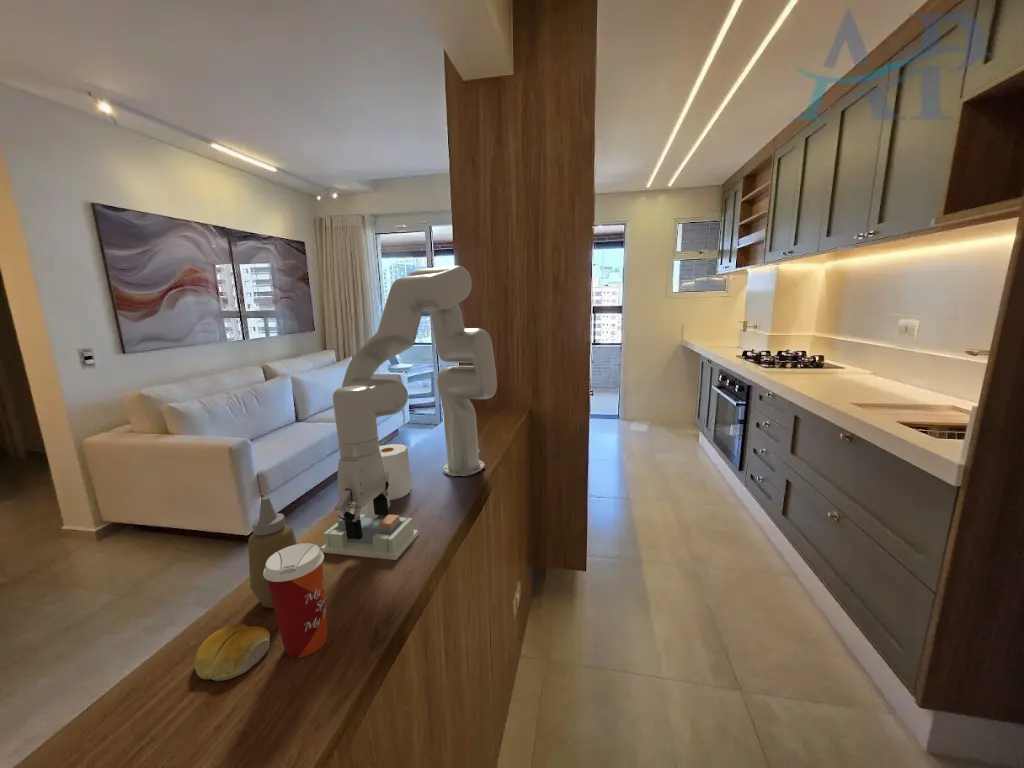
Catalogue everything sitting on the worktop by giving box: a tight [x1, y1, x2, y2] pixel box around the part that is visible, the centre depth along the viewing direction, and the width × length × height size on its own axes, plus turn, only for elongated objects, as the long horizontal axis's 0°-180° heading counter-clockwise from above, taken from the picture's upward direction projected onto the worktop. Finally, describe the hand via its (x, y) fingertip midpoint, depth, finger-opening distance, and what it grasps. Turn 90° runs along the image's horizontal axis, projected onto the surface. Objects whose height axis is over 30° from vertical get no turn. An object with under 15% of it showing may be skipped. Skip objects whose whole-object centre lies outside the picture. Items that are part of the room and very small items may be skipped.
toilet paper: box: [379, 443, 412, 501], centre depth 111 cm, size 10×10×12 cm
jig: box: [320, 514, 419, 561], centre depth 87 cm, size 10×17×4 cm, turn 76°
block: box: [350, 489, 391, 519], centre depth 100 cm, size 9×4×6 cm, turn 165°
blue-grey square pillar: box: [337, 510, 401, 544], centre depth 87 cm, size 4×12×5 cm, turn 76°
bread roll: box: [194, 623, 271, 682], centre depth 59 cm, size 8×9×4 cm
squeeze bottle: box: [247, 497, 297, 609], centre depth 70 cm, size 8×8×18 cm
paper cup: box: [263, 542, 328, 659], centre depth 60 cm, size 8×8×14 cm
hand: (369, 525), depth 86 cm, fingers open, 9 cm apart
